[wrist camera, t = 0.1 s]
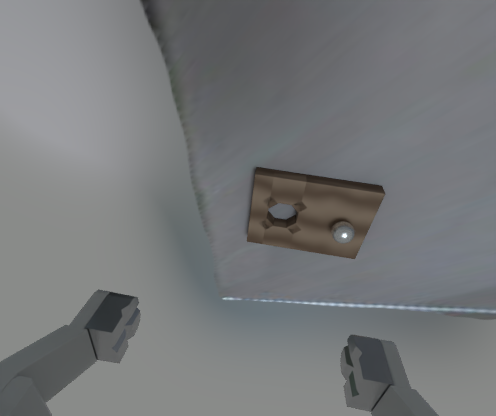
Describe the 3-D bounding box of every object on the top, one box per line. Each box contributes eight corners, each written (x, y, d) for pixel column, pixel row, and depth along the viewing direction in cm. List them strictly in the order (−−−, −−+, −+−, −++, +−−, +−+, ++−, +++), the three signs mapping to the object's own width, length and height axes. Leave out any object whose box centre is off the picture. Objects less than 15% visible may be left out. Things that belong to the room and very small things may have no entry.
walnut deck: (256, 167, 51) (255, 174, 49) (381, 185, 50) (385, 193, 48) (248, 233, 61) (246, 241, 59) (352, 250, 59) (354, 259, 57)
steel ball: (333, 215, 52) (335, 229, 49) (355, 218, 52) (359, 233, 48) (327, 231, 54) (329, 246, 51) (348, 234, 54) (352, 249, 51)
